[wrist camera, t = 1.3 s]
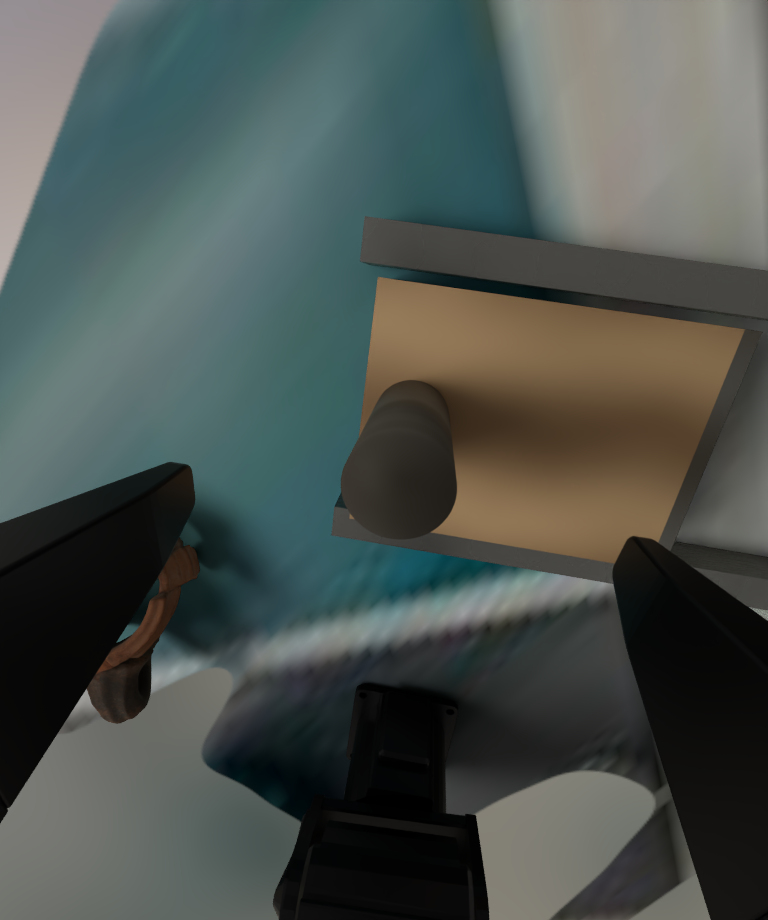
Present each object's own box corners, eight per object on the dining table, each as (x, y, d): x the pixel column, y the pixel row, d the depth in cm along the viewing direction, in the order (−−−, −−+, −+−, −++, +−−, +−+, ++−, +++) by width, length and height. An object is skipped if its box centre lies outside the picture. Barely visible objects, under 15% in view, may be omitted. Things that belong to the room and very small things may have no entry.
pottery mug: (26, 528, 28) (-67, 547, 20) (183, 479, 31) (156, 480, 23) (91, 707, 29) (25, 796, 21) (240, 646, 31) (233, 704, 23)
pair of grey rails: (914, 610, 23) (1005, 671, 20) (340, 513, 25) (324, 552, 21) (1110, 325, 18) (1283, 334, 14) (372, 224, 20) (358, 209, 16)
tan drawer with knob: (625, 526, 23) (776, 713, 13) (362, 482, 24) (308, 628, 14) (700, 323, 20) (992, 361, 9) (388, 279, 20) (340, 269, 10)
